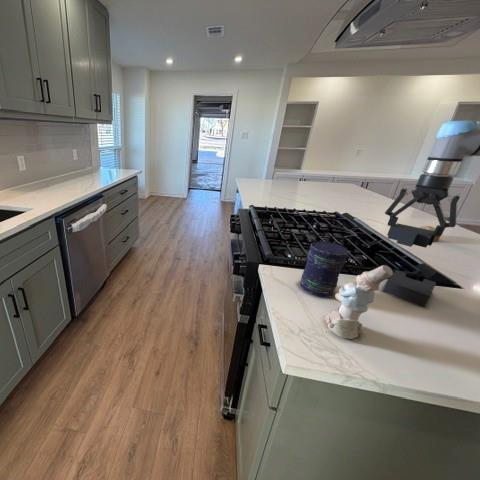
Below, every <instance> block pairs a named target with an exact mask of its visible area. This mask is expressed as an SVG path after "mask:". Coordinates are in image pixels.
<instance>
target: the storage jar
mask: <svg viewBox="0 0 480 480" xmlns="http://www.w3.org/2000/svg"><path fill="white" fill-rule="evenodd" d="M348 254H349V250H348V249H347V248H346V247H344V246H342V245H339V244H337V243H334V242H330V241H323V240H321V241H320V240H319V241H318V240H316V241H312V242H311V243H310V248H309V250H308V252H307V257H306V264H305V267H304V269H303V272H302V274H301V279H300V282H299V287H300V288H301V290H303V291H304V292H305V293H307V294H309V295H311V296H314V297H318V298H326V299H327V298H331V297H333V296H334V292H335V290H336V289H337V286H338V282H339V276H340V273H341V271H342V269H343V268H344V265H345V263H346V260H347V256H348Z"/></svg>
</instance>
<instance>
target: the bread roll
mask: <svg viewBox="0 0 480 480" xmlns="http://www.w3.org/2000/svg"><path fill="white" fill-rule="evenodd" d="M417 228H422V229H427V230H431V231H435V229H436V227H433V226H432V225H422V226H418V227H417ZM440 238H441V236H440V237H438V236H436V237H435V239H434V241H433V243H435V242H438V241H439V240H440Z"/></svg>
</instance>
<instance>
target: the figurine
mask: <svg viewBox="0 0 480 480" xmlns="http://www.w3.org/2000/svg"><path fill="white" fill-rule="evenodd" d="M393 273H394V271H393V269H392V268H391V267H389V266H388V265H386V264H383V265H380V266H378V267H376V268H373V269H372V270H369V271H367V270H366V271H363V272H362V273H361V274H358V275H356V279H355V281H356V282H354V281H351V282H348V283H345V284H343V285H341V287H340V288H339V289H338V292H336V293H335V295H334V296H335V299H336V300H338V301H339V303H340V306H339V307H336V308H335V309H333V310H331V311H330V313H329V314H328V315H326V316H325V321H326V324H327V328H328V329H329V330H330V331H331V332H333V333H334V334H335V335H337V336H338V337H341V338H344V339H350V340H352V339H356V338H358V336H359V334H364V329H363V324H362V323H361V322H360V321H359V318H360V316H361V315H362V314H364V313H367V311H368V310H369V307H368V305H370V304H372V303H373V302H374V299H375V295H376V293H375V292H378V291H380V286H381V285H380V284H381V283H382V282H384V281H386V280H388V279H389V278H390V277H391V276H392V275H393Z"/></svg>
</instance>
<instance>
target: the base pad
mask: <svg viewBox="0 0 480 480" xmlns="http://www.w3.org/2000/svg"><path fill="white" fill-rule="evenodd" d="M436 284H437V282H436V281H434V280H433V281H432V280H429V279H426V278H423V280H422V281H420V280H416V279H413V278H410V277H408V276H407V272H404V271H401V270H398V269H396V270H394V271H393V275H392V276H390V277H389V278H388V279H387V281H386V282H385V285H384V286H383V289H382V292H383V293H386V294H388V295H391V296H393V297H396V298H399V299H401V300H404V301H407V302H409V303H411V304H414V305H418V306H420V307H423V308H425V307H426V305H427V303H428V301H429V300H430V298H431V296H432V293H433V291H434V290H435V287H436Z"/></svg>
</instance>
